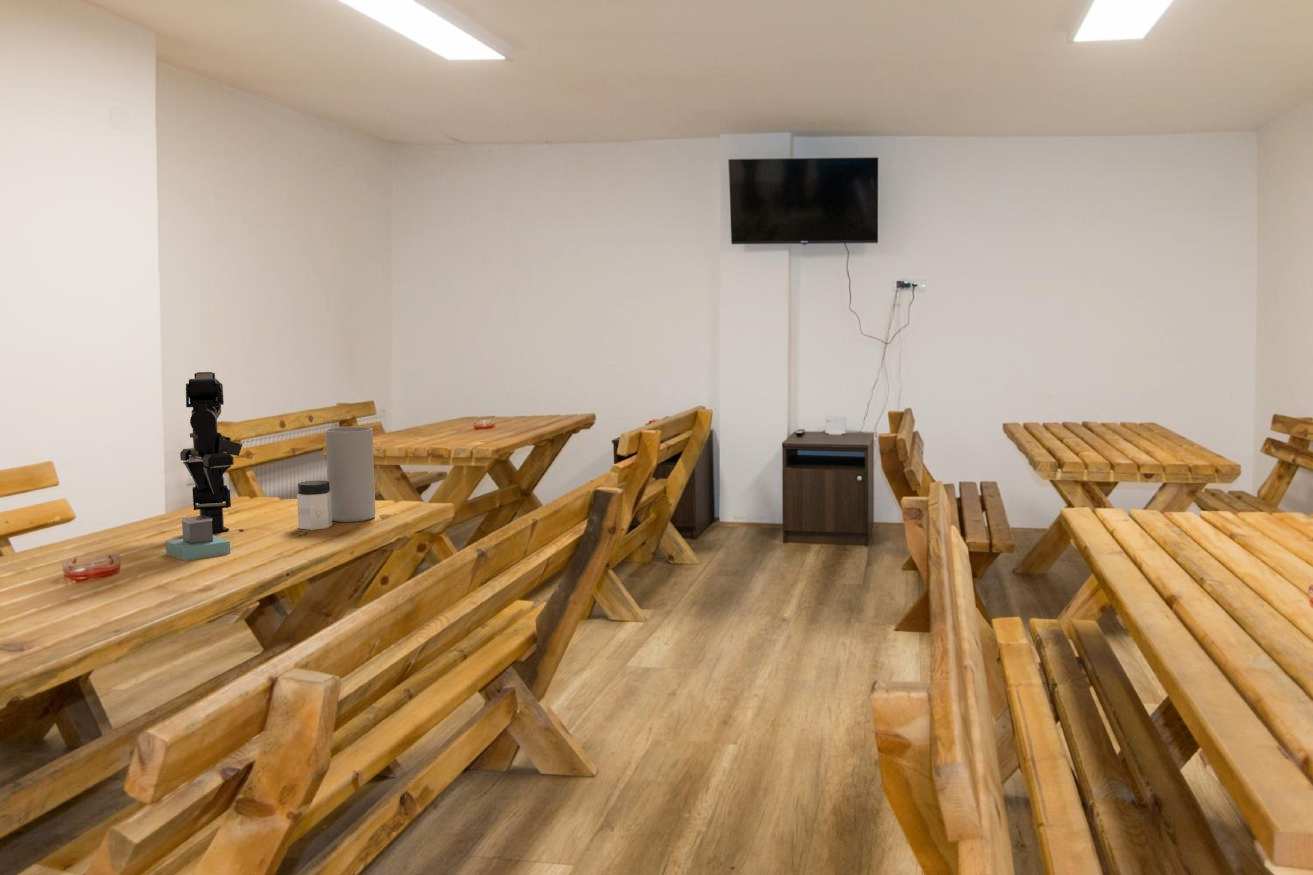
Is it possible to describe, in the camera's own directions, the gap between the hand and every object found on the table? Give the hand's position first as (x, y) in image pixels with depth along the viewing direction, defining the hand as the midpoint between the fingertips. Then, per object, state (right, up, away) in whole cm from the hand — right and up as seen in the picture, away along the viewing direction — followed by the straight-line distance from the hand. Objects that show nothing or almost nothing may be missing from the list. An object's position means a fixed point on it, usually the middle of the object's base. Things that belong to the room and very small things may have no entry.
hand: (208, 491), depth 272 cm
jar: (+20, -11, +21) cm, 31 cm away
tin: (+2, -11, -11) cm, 16 cm away
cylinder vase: (+27, -9, +33) cm, 43 cm away
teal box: (+2, -15, -10) cm, 18 cm away
